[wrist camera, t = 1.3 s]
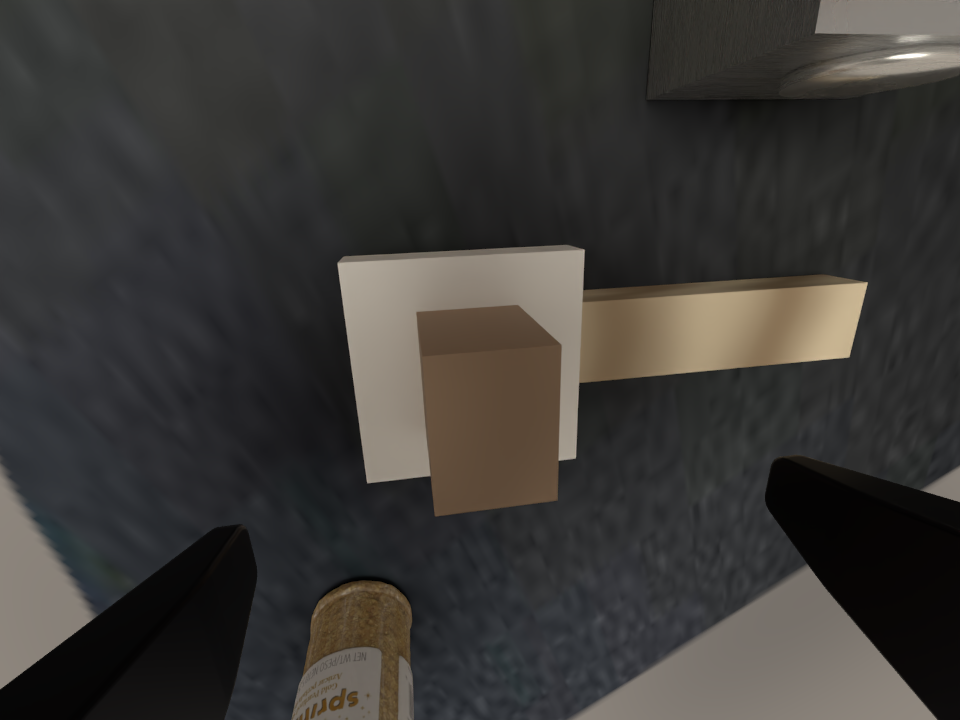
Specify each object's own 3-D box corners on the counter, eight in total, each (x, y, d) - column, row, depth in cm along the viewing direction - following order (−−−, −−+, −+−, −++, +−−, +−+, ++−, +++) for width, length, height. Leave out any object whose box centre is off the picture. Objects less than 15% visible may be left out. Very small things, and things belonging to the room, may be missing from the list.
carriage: (548, 239, 17) (654, 269, 10) (545, 414, 19) (629, 538, 12) (350, 249, 16) (310, 290, 9) (373, 432, 18) (355, 578, 11)
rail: (822, 274, 19) (867, 282, 18) (808, 342, 20) (849, 357, 19) (358, 305, 17) (352, 318, 15) (368, 381, 18) (363, 403, 16)
